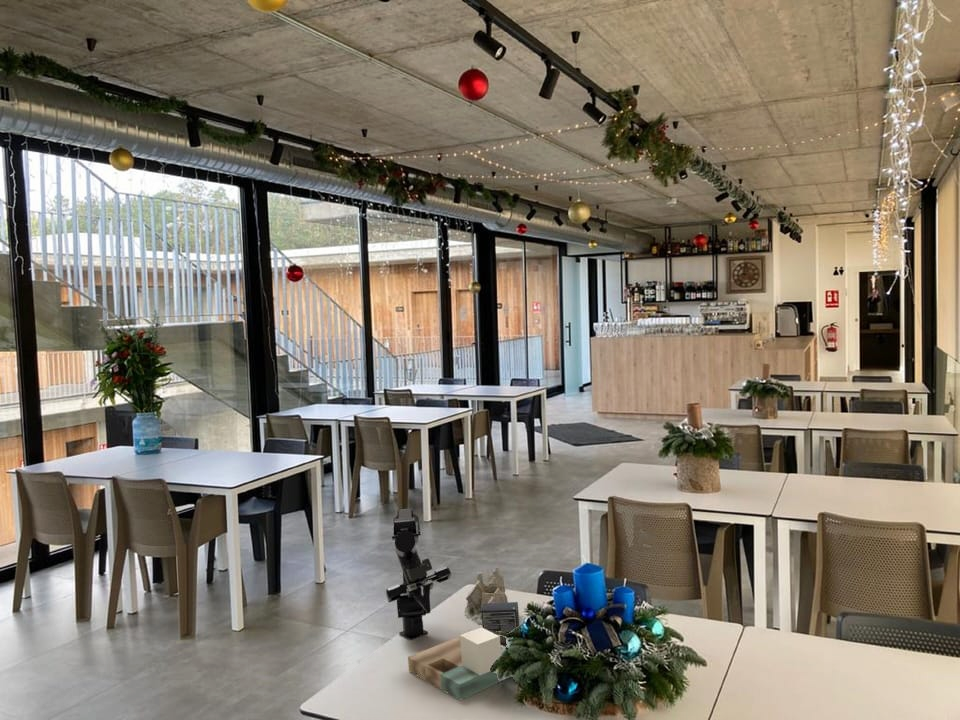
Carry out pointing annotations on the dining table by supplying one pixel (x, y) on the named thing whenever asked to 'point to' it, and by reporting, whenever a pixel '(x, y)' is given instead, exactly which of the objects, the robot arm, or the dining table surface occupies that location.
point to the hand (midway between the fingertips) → (429, 613)
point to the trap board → (450, 670)
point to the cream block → (479, 650)
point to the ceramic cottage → (485, 595)
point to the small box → (500, 617)
